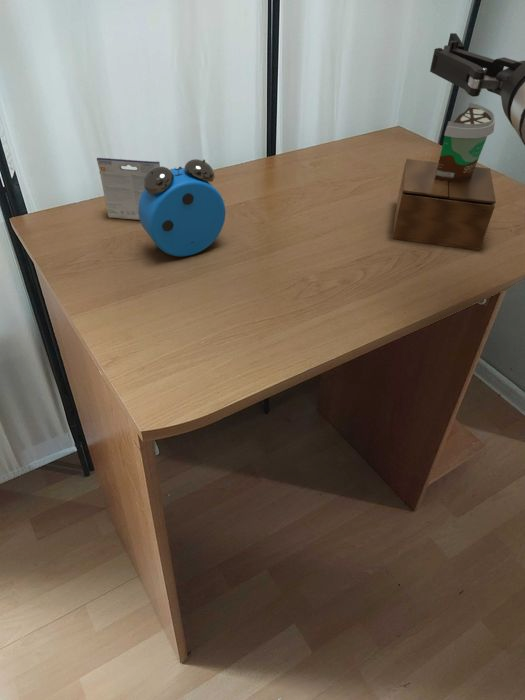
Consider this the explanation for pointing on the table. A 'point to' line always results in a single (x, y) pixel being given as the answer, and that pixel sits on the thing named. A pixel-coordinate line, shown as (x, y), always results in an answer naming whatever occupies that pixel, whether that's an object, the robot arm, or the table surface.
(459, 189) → the flap
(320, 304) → the table surface
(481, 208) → the wooden box
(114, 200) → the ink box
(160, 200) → the alarm clock
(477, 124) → the food container
